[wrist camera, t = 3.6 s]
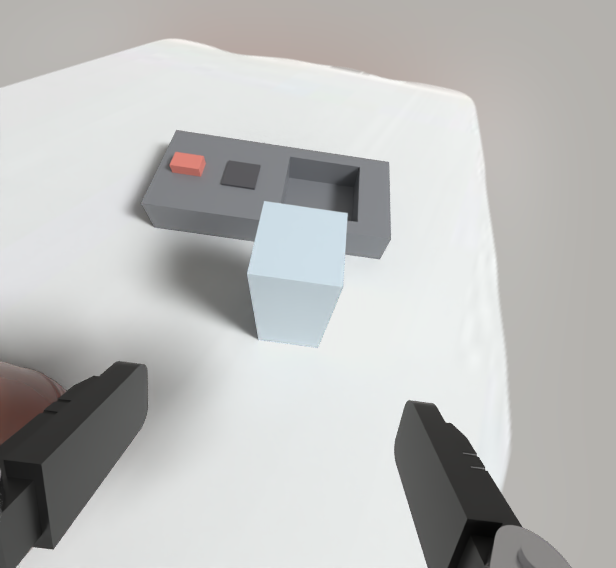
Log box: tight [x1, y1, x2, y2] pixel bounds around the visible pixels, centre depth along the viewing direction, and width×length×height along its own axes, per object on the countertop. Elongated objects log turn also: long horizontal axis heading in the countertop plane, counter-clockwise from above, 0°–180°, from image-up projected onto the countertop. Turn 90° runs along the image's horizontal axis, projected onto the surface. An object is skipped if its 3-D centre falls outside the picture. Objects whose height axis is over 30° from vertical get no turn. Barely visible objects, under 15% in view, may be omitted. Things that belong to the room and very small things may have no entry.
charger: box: [247, 201, 348, 348], centre depth 20 cm, size 4×5×10 cm
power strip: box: [141, 130, 391, 259], centre depth 28 cm, size 20×9×4 cm, turn 84°
